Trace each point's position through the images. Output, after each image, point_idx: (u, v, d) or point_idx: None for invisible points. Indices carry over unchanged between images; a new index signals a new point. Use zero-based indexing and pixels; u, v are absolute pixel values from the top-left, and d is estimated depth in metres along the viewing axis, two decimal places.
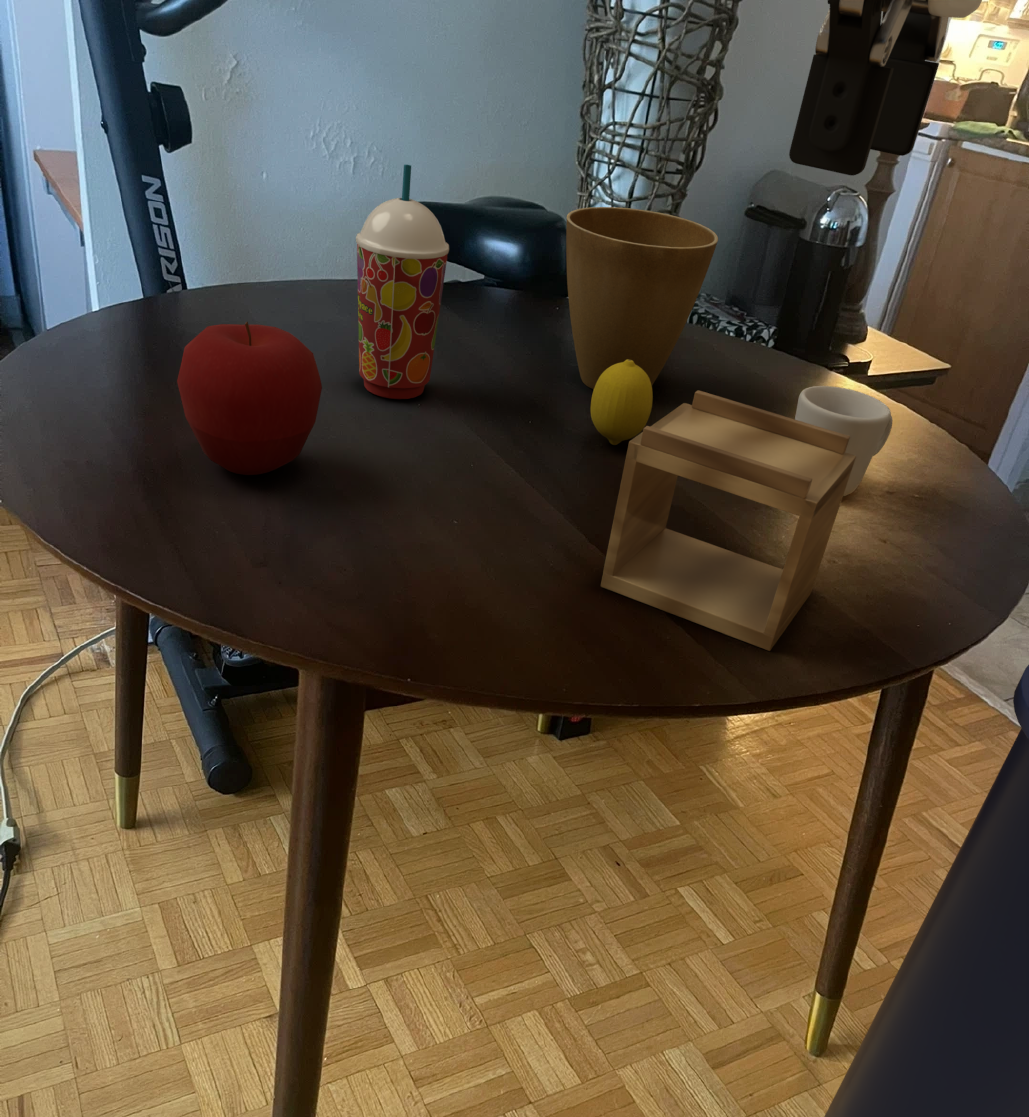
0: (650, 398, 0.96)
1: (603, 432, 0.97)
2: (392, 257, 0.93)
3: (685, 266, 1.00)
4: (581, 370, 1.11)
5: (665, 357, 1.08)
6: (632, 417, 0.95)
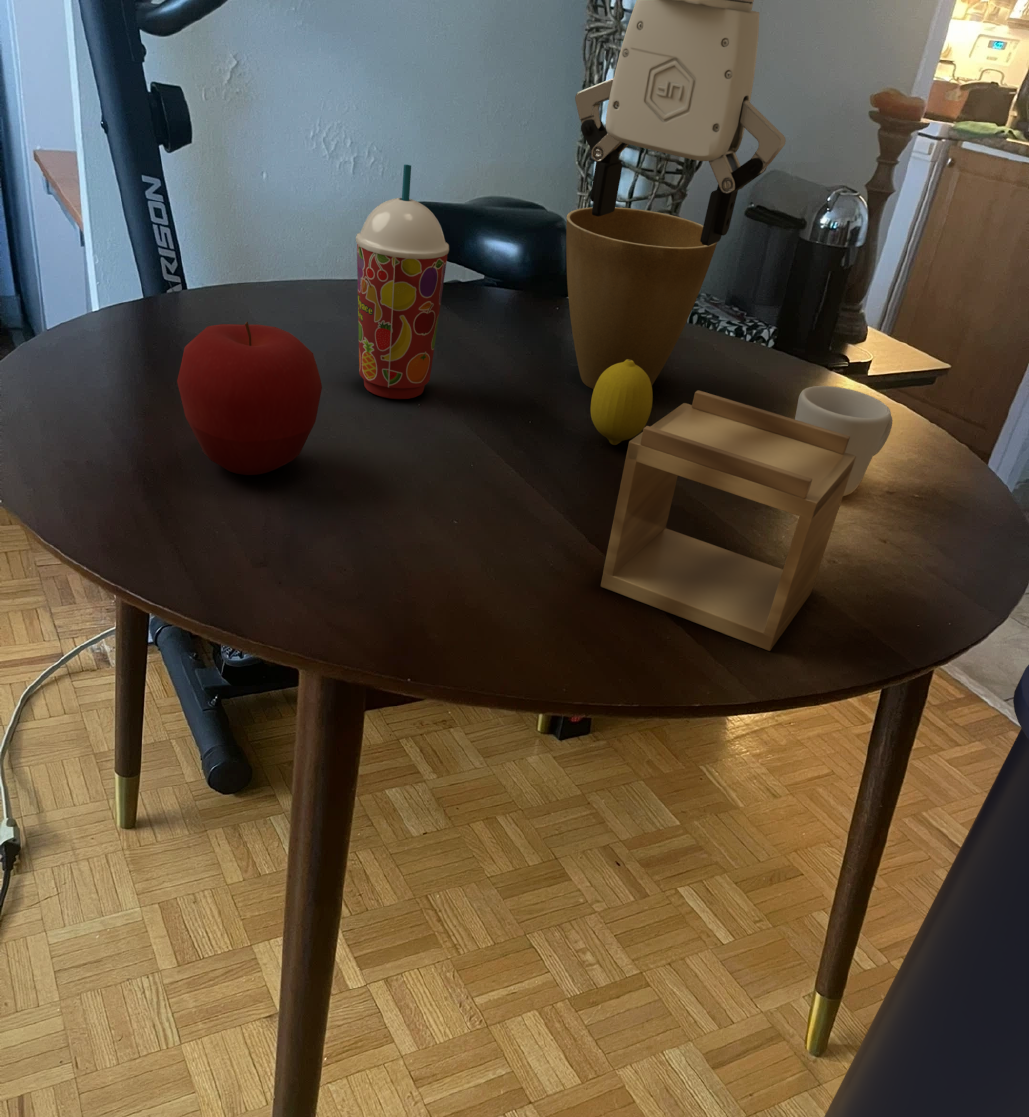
0: (650, 398, 0.96)
1: (603, 432, 0.97)
2: (392, 257, 0.93)
3: (685, 266, 1.00)
4: (581, 370, 1.11)
5: (665, 357, 1.08)
6: (632, 417, 0.95)
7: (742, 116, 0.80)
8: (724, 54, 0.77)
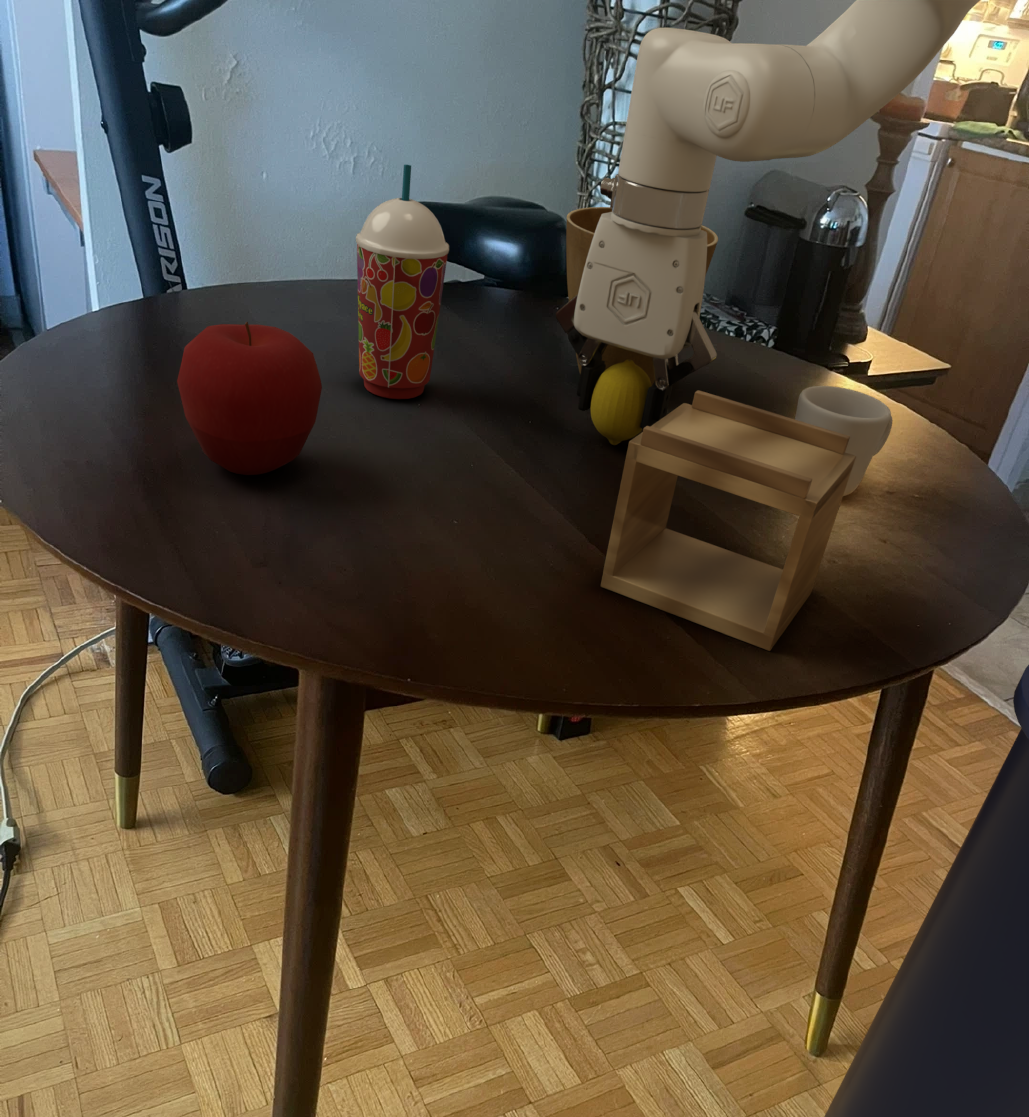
0: None
1: (603, 432, 0.97)
2: (392, 257, 0.93)
3: None
4: None
5: None
6: (632, 417, 0.95)
7: (694, 321, 0.90)
8: (675, 273, 0.87)
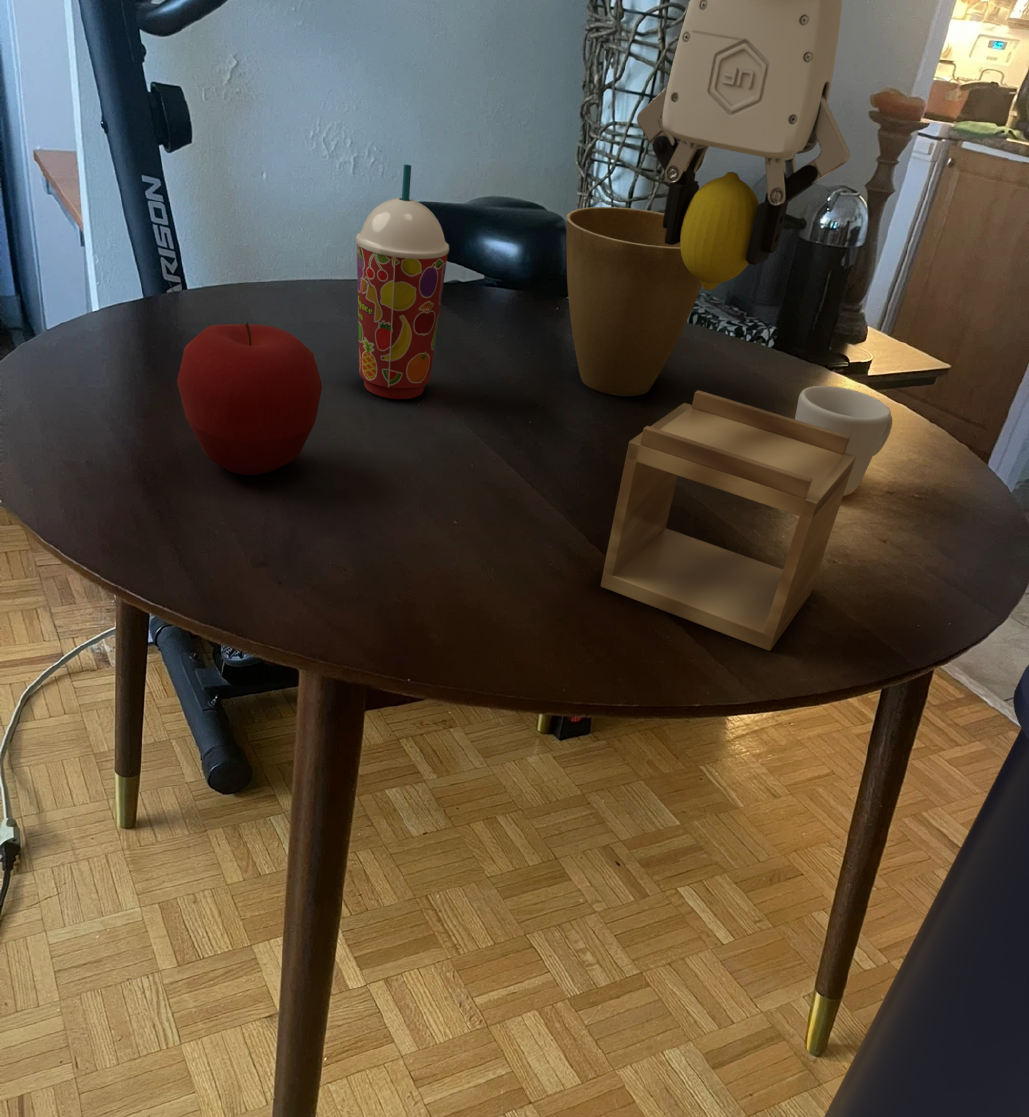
0: None
1: (696, 269, 0.76)
2: (392, 257, 0.93)
3: (685, 266, 1.00)
4: (581, 370, 1.11)
5: (665, 357, 1.08)
6: (735, 246, 0.74)
7: (822, 106, 0.69)
8: (802, 34, 0.66)
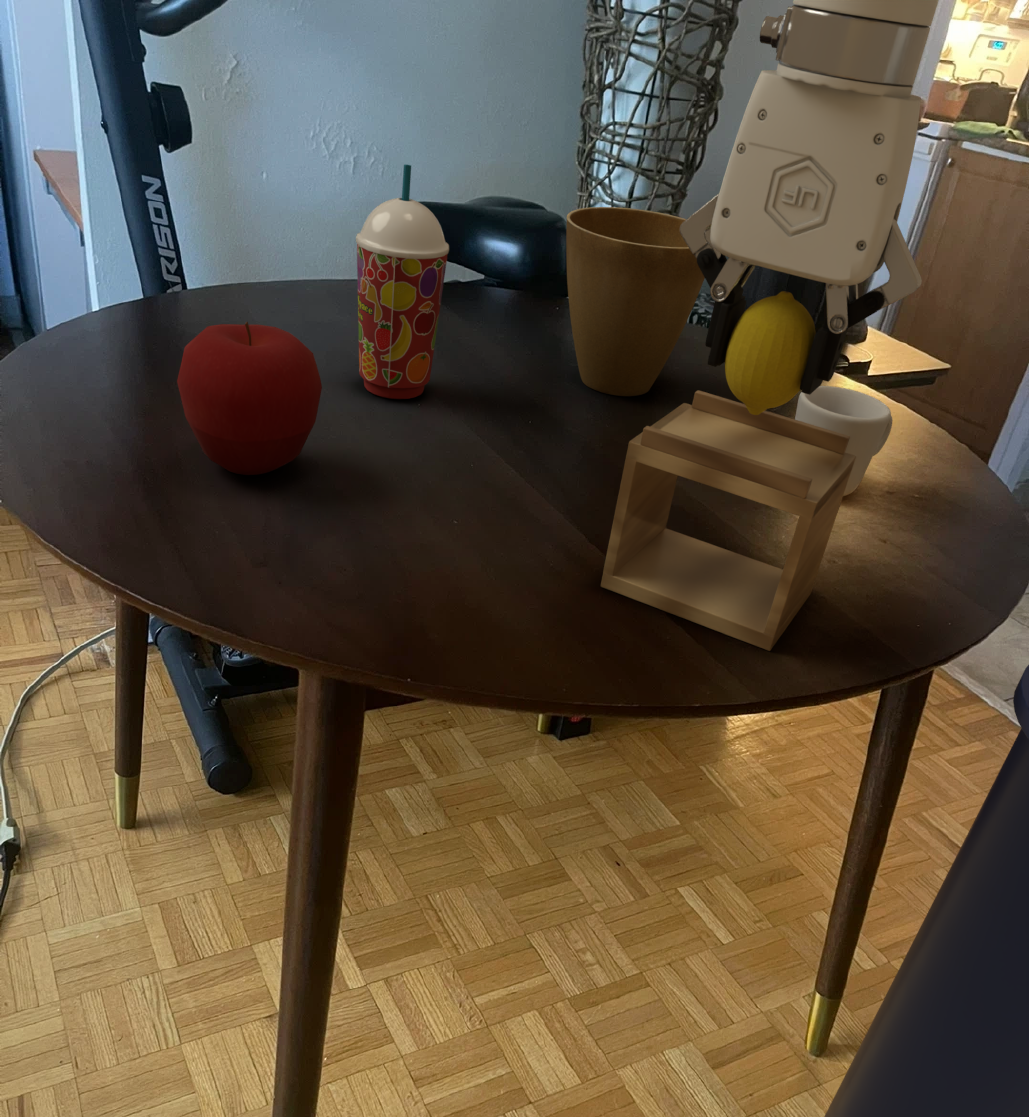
0: None
1: (744, 395, 0.69)
2: (392, 257, 0.93)
3: (685, 266, 1.00)
4: (581, 370, 1.11)
5: (665, 357, 1.08)
6: (789, 374, 0.67)
7: (894, 229, 0.61)
8: (877, 154, 0.58)
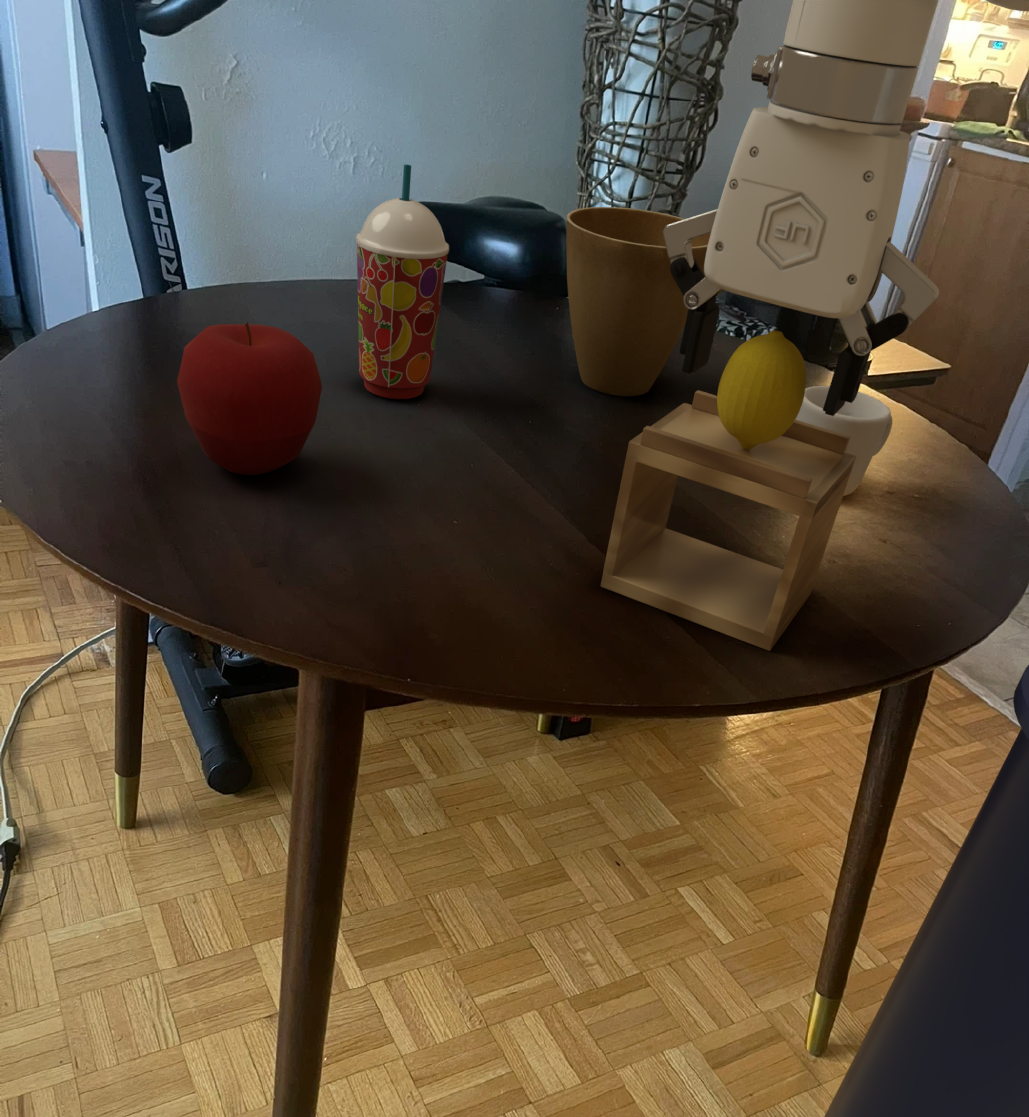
0: (804, 385, 0.68)
1: (735, 431, 0.70)
2: (392, 257, 0.93)
3: None
4: (581, 370, 1.11)
5: (665, 357, 1.08)
6: (780, 411, 0.68)
7: (884, 263, 0.62)
8: (866, 191, 0.59)
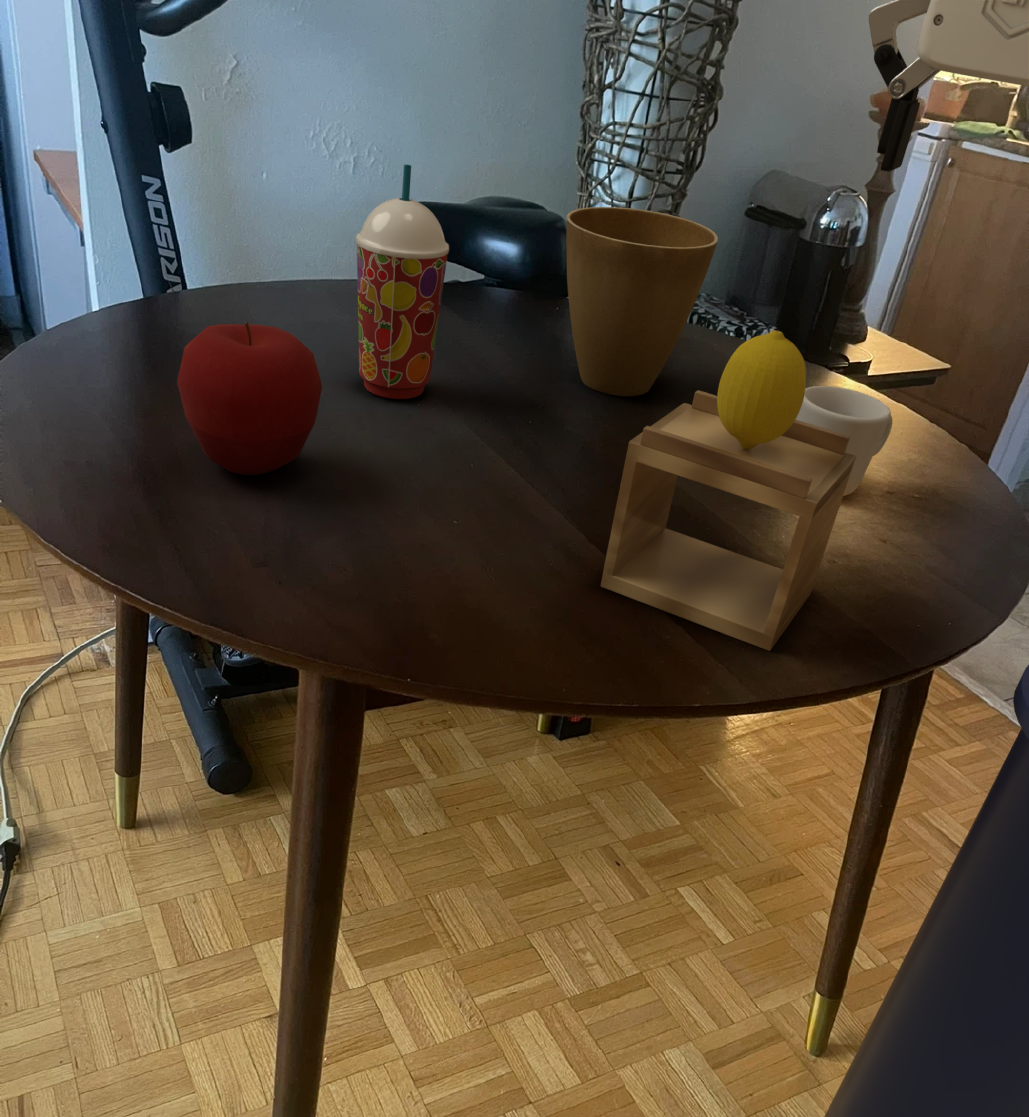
0: (804, 385, 0.68)
1: (735, 431, 0.70)
2: (392, 257, 0.93)
3: (685, 266, 1.00)
4: (581, 370, 1.11)
5: (665, 357, 1.08)
6: (780, 411, 0.68)
7: None
8: None
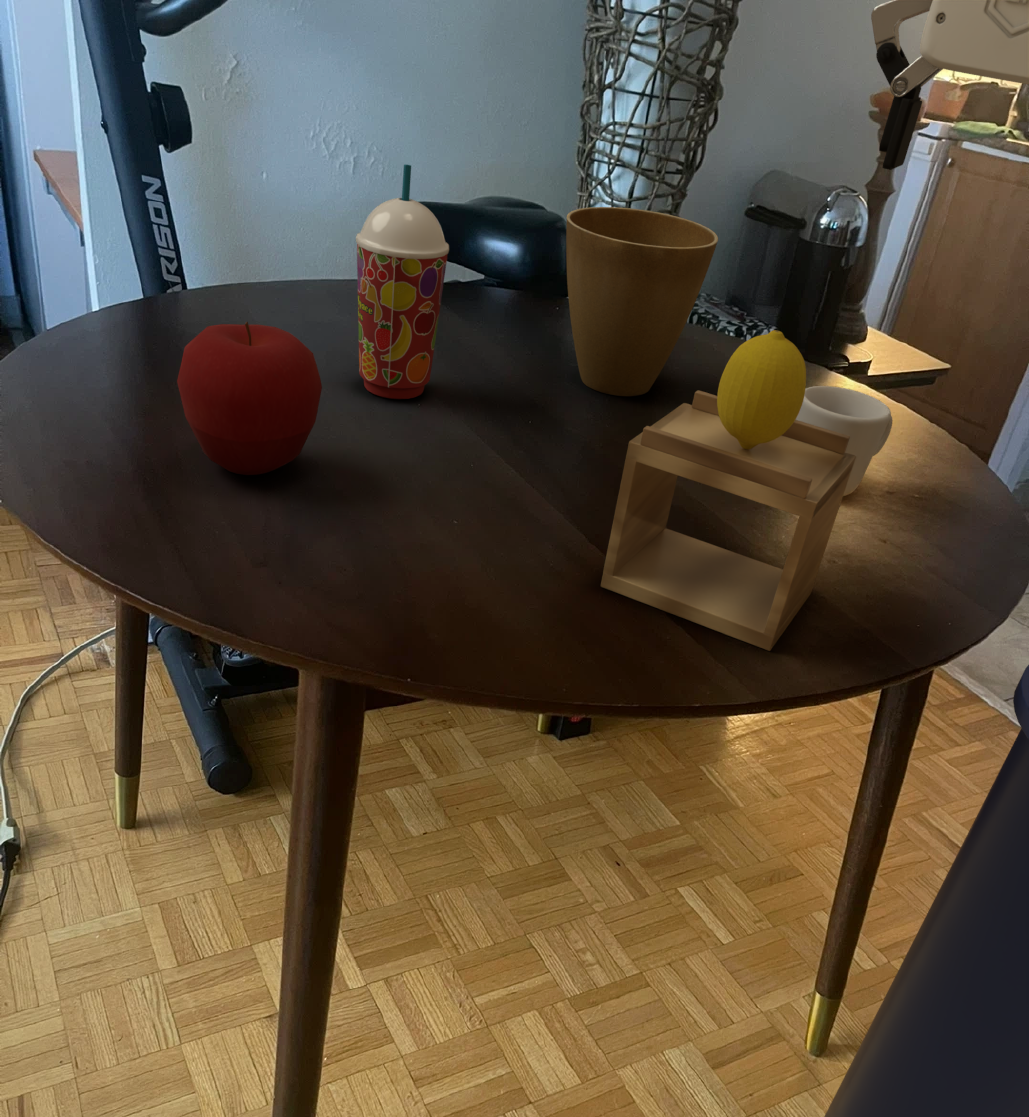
0: (804, 385, 0.68)
1: (735, 431, 0.70)
2: (392, 257, 0.93)
3: (685, 266, 1.00)
4: (581, 370, 1.11)
5: (665, 357, 1.08)
6: (780, 411, 0.68)
7: None
8: None
